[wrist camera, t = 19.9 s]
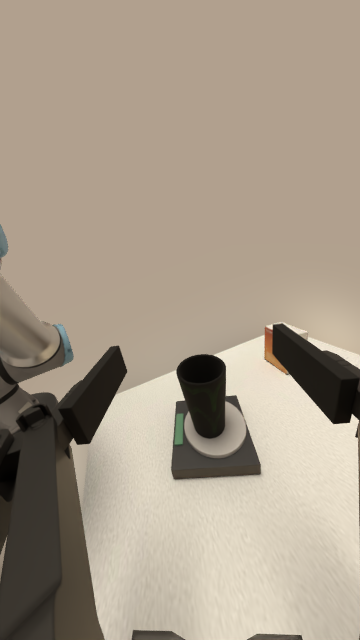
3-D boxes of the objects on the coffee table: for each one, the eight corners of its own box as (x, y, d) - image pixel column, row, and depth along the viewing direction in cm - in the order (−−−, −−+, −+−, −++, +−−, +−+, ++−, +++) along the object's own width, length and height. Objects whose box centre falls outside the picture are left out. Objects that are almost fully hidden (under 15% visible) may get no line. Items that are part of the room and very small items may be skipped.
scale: (173, 479, 26) (170, 466, 25) (178, 408, 39) (175, 398, 38) (260, 474, 25) (260, 460, 24) (236, 403, 37) (235, 392, 36)
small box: (264, 359, 50) (263, 325, 46) (280, 353, 51) (281, 320, 47) (286, 375, 42) (288, 337, 39) (305, 368, 43) (308, 331, 40)
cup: (197, 401, 36) (188, 352, 32) (235, 411, 32) (230, 356, 28) (181, 436, 29) (167, 379, 25) (225, 452, 26) (218, 389, 22)
